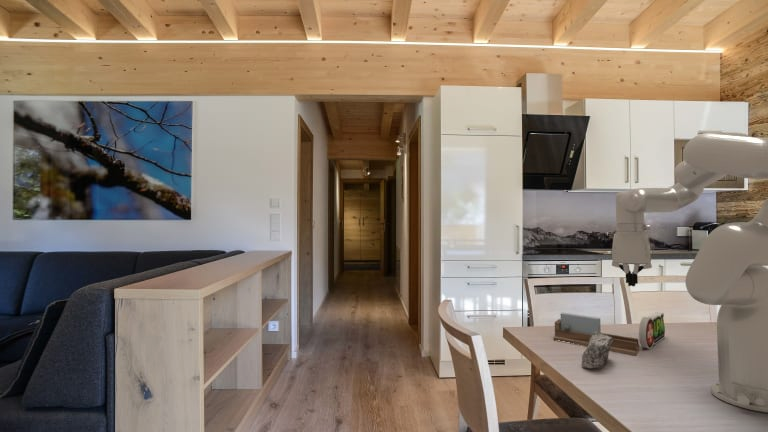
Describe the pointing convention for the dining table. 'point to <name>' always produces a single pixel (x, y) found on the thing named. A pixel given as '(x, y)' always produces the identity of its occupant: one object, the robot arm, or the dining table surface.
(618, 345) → the rail
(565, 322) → the panel
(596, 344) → the rock
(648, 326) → the sign
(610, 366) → the dining table surface
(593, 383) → the dining table surface
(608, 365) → the dining table surface
